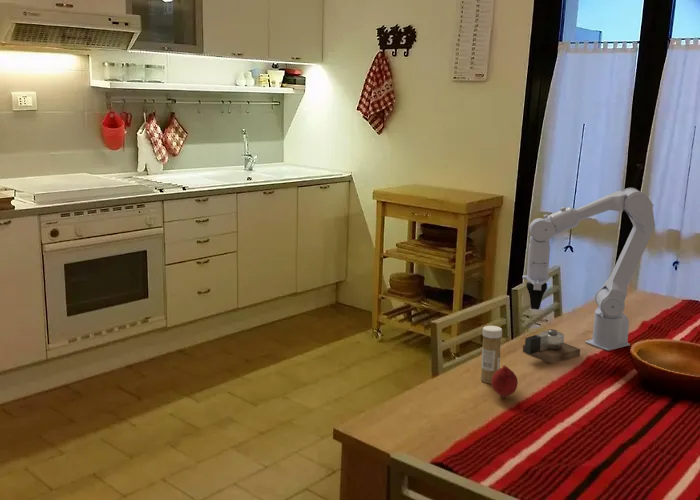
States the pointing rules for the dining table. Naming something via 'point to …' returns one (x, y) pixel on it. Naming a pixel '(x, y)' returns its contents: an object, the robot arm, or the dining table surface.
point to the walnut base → (557, 353)
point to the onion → (504, 381)
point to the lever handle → (544, 341)
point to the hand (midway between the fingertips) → (535, 308)
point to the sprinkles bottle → (490, 352)
